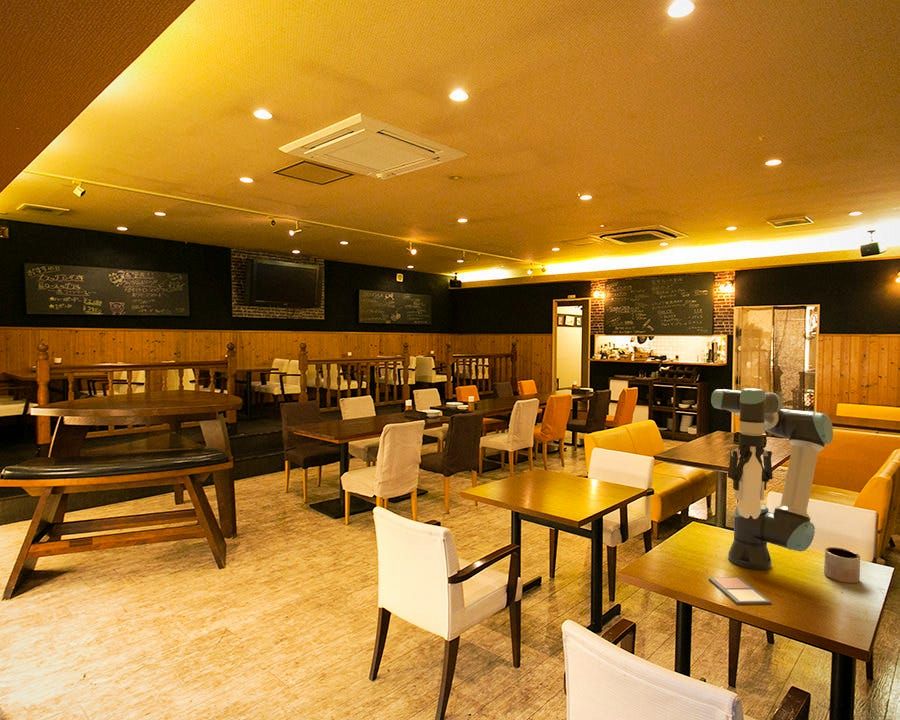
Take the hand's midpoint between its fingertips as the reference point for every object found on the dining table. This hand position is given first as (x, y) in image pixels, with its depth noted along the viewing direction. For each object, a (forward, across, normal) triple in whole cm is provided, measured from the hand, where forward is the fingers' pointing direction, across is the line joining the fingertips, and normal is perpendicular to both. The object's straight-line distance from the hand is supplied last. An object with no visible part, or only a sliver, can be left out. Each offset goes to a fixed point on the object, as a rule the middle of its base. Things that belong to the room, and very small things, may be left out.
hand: (749, 499), depth 180 cm
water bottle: (+6, 0, 0) cm, 6 cm away
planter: (+35, -46, -14) cm, 60 cm away
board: (+35, 0, -4) cm, 35 cm away
